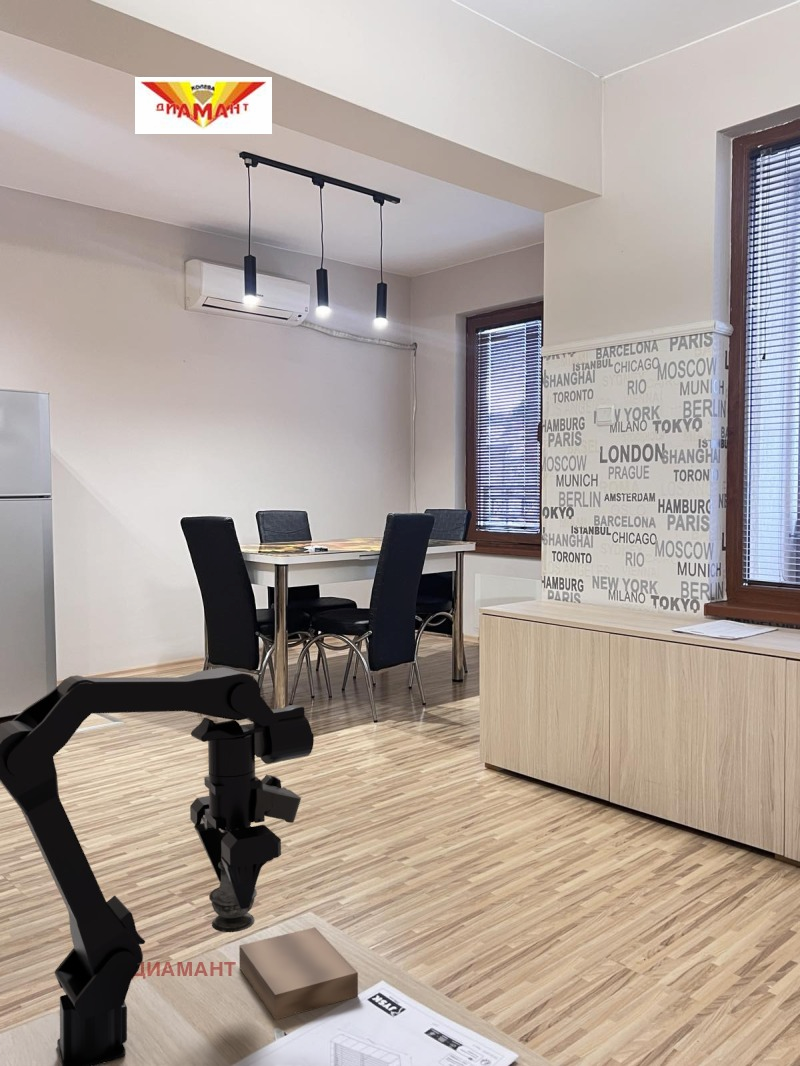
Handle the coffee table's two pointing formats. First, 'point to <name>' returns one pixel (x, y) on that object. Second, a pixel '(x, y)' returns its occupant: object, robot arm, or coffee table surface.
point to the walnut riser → (297, 972)
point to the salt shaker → (229, 906)
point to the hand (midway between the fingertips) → (234, 894)
